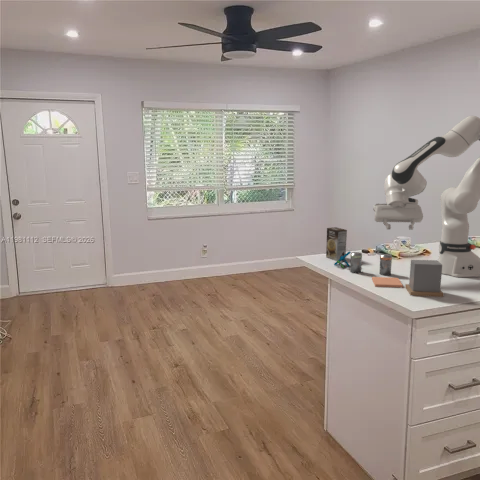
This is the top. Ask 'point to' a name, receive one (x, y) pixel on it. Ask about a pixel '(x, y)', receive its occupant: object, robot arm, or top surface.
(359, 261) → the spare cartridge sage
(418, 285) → the block
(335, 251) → the coffee box
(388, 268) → the terracotta cartridge
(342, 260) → the blue toy figure
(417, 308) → the top surface
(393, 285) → the mat
